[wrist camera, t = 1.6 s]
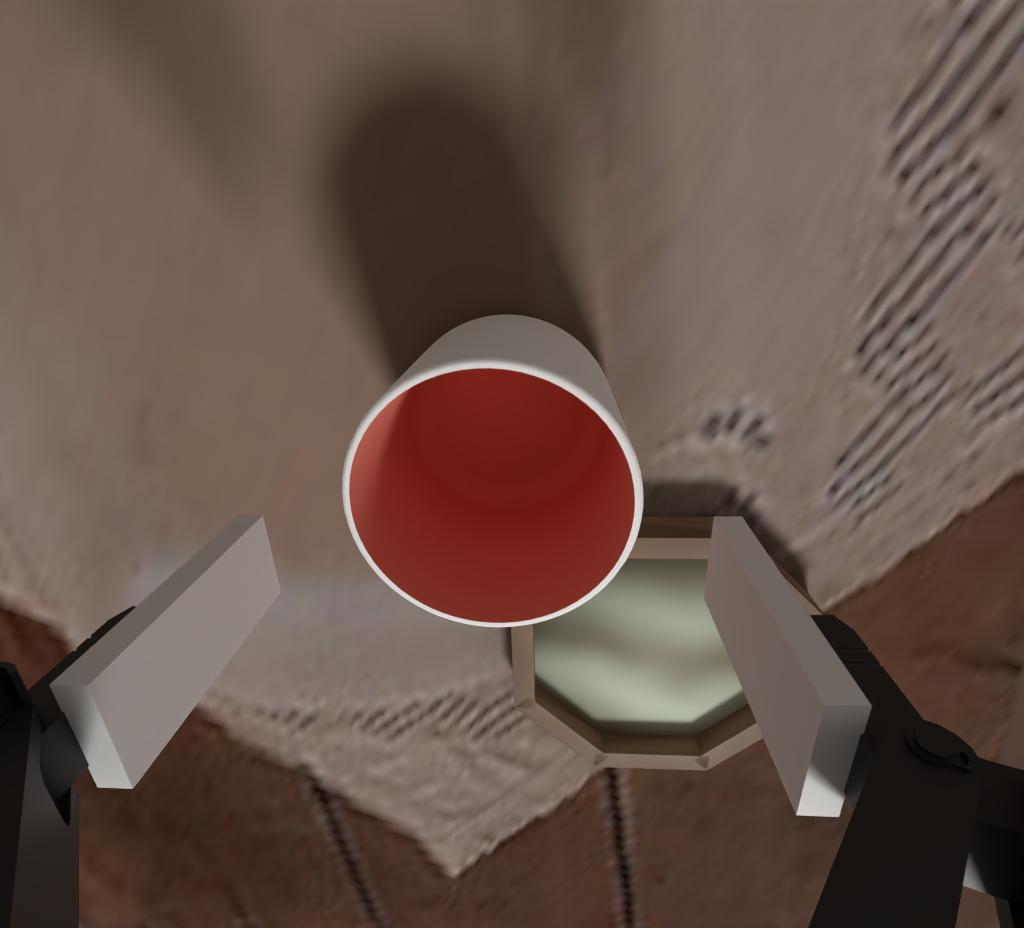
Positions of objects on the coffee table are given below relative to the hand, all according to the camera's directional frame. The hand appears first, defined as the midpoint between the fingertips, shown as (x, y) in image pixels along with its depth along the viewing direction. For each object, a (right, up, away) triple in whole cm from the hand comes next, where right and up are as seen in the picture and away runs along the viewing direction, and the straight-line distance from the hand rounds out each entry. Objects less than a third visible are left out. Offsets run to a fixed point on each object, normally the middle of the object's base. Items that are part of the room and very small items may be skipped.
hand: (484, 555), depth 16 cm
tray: (+9, -8, +16) cm, 20 cm away
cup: (+1, +5, +11) cm, 12 cm away
